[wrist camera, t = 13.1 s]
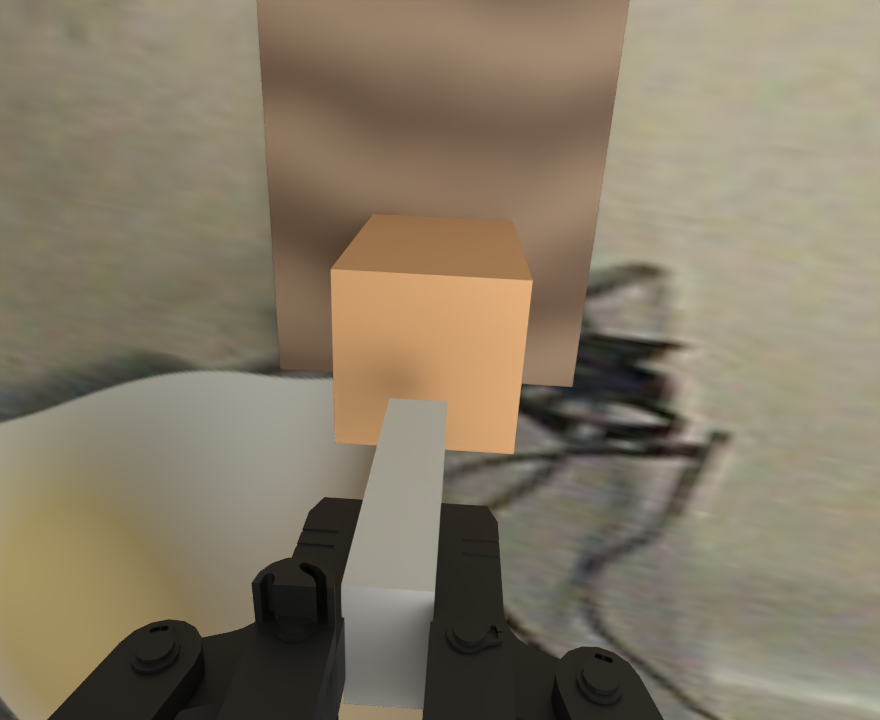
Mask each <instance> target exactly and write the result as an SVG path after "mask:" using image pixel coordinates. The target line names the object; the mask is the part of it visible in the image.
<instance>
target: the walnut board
mask: <svg viewBox="0 0 880 720" xmlns="http://www.w3.org/2000/svg"><path fill="white" fill-rule="evenodd" d="M628 7H629V0H257V13H258V28H259V44H260V60H261V76H262V91H263V107H264V123H265V138H266V154H267V170H268V186H269V201H270V217H271V233H272V249H273V264H274V280H275V296H276V312H277V327H278V343H279V359H280V369H286V370H303V371H319V372H333V343H332V304H331V268H332V267H333V265H334V264H335V263H336V261H337V260H338V259H339V258H340V256H341V255H342V254H343V252H344V251H345V250H346V249H347V247H348V246H349V245H350V243H351V242H352V241H353V239H354V238H355V237H356V236H357V234H358V233H359V232H360V230H361V229H362V228H363V227H364V225H365V224H366V223H367V221H368V220H369V219H370V217H371V216H372V215H373V214H386V215H405V216H423V217H441V218H459V219H477V220H495V221H513V224H514V227H515V230H516V233H517V236H518V239H519V242H520V245H521V248H522V251H523V254H524V257H525V259H526V262H527V265H528V268H529V271H530V274H531V277H532V280H533V282H532V291H531V300H530V309H529V318H528V327H527V336H526V345H525V354H524V363H523V372H522V381H521V384H534V385H551V386H568V387H572V384H573V377H574V371H575V364H576V357H577V350H578V344H579V337H580V330H581V323H582V317H583V310H584V303H585V297H586V290H587V283H588V276H589V270H590V263H591V256H592V249H593V243H594V236H595V229H596V222H597V216H598V209H599V202H600V195H601V189H602V182H603V175H604V169H605V162H606V155H607V148H608V142H609V135H610V128H611V121H612V115H613V108H614V101H615V94H616V88H617V81H618V74H619V68H620V61H621V54H622V47H623V41H624V34H625V27H626V20H627V14H628Z"/></svg>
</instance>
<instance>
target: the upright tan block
mask: <svg viewBox="0 0 880 720" xmlns="http://www.w3.org/2000/svg"><path fill="white" fill-rule="evenodd" d="M532 282H533V280H532V277H531V274H530V271H529V268H528V265H527V262H526V259H525V257H524V254H523V251H522V248H521V245H520V242H519V239H518V236H517V233H516V230H515V227H514V224H513V221H495V220H477V219H459V218H441V217H423V216H405V215H386V214H373V215H372V216H371V217H370V219H369V220H368V221H367V223H366V224H365V225H364V227H363V228H362V229H361V230H360V232H359V233H358V234H357V236H356V237H355V238H354V239H353V241H352V242H351V243H350V245H349V246H348V247H347V249H346V250H345V251H344V252H343V254H342V255H341V256H340V258H339V259H338V260H337V261H336V263H335V264H334V265H333V267H332V268H331V304H332V343H333V382H334V420H335V421H334V422H335V443H347V444H363V445H377V444H378V440H379V437H380V433H381V429H382V425H383V421H384V417H385V413H386V410H387V406H388V402H389V398H397V399H413V400H430V401H446V402H448V403H447V420H446V437H445V450H458V451H474V452H490V453H506V454H513V453H514V444H515V435H516V426H517V417H518V408H519V399H520V390H521V381H522V372H523V363H524V354H525V345H526V336H527V327H528V318H529V309H530V300H531V291H532Z"/></svg>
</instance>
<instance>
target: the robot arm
mask: <svg viewBox="0 0 880 720" xmlns="http://www.w3.org/2000/svg"><path fill="white" fill-rule="evenodd" d="M447 403H448V402H446V401H430V400H413V399H397V398H389V402H388V406H387V410H386V413H385V417H384V421H383V425H382V429H381V433H380V437H379V440H378V444H377V448H376V453H375V456H374V460H373V464H372V468H371V472H370V476H369V479H368V483H367V487H366V491H365V495H364V499H363V500H358V499H344V498H343V499H342V498H327V497H324V498H323V499H322V500H321V501H320V502H319V503H318V504H317V505H316V506H315V507H314V508H313V509H311V510H310V511H309V514H308V516H307V519H306V521H305V524H304V527H303V532H301V535H300V537H299V540H298V543H297V547H296V548H295V550H294V553H293V556H292V558H286V559H283V560H280V561H277V562H274V563H272V564H270V565H269V566H267V567H266V568H265V569H263V570H262V571H260V572H259V574H258V575H257V576H256V578H255V579H254V581H253V582H252V592H253V602H254V611H255V622H254V623H252V624H250V625H248V626H246V627H244V628H242V629H239V630H235V631H232V632H228V633H223V634H218V635H213V636H208V637H203V638H202V637H201V636H200V634H199V632H198V631H197V629H196V628H195V627H194V626H192V625H190V624H188V623H187V622H185V621H178V620H164V621H158V622H153V623H150V624H148V625H146V626H144V627H141V628H140V629H137V630H135V631H134V632H132V633H131V634H130V635H129V636H127V637H126V638H125V639H124V640H123V641H121V643H119V644H118V645H117V647H115V649H114V650H113V651H112V652H111V653H110V654H109V655H108V656H107V657H106V658H105V659H104V660H103V661H102V662H101V663H100V664H99V665H98V667H97V668H96V669H95V670H94V671H93V672H92V673H91V674H90V675H89V676H88V677H87V678H86V679H85V681H83V682H82V684H81V685H80V686H79V687H78V688H77V689H76V690H75V691H74V692H73V693H72V694H71V695H70V696H69V697H68V698H67V699H66V701H65V702H64V703H63V704H62V705H61V706H60V707H59V708H58V709H57V710H56V711H55V712H54V713H53V714H52V715H51V716H50V717H49V718H48V720H338V712H339V708H340V703H341V698H342V693H343V692H344V704H355V705H368V706H382V707H397V708H410V709H423V720H664V719H663V717H662V716H661V714H660V712H659V710H658V708H657V707H656V705H655V703H654V701H653V700H652V698H651V696H650V694H649V692H648V691H647V689H646V687H645V685H644V683H643V682H642V680H641V678H640V676H639V675H638V674H637V673H636V671H635V670H634V669H633V668H632V666H631V665H630V664H629V663H628V662H627V661H625V660H624V659H622V658H621V657H620V656H618V655H617V654H615V653H613V652H611V651H608V650H605V649H602V648H599V647H579V648H576V649H574V650H571V651H568V652H567V653H566V654H565V655H564V656H563V657H562V658H561V659H559V658H556V657H553V656H550V655H547V654H545V653H542V652H539V651H537V650H535V649H533V648H531V647H529V646H527V645H526V644H525V643H523V642H522V641H520V640H519V639H518V638H517V637H516V636H515V635H514V634H513V632H512V631H511V630H510V628H509V626H508V624H507V623H506V620H505V616H504V609H503V594H502V580H501V565H500V550H499V535H498V522H497V521H496V519H495V518H494V516H493V515H492V513H491V512H490V510H489V509H488V507H487V506H476V505H461V504H445V503H442V489H443V471H444V454H445V437H446V420H447Z"/></svg>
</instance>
